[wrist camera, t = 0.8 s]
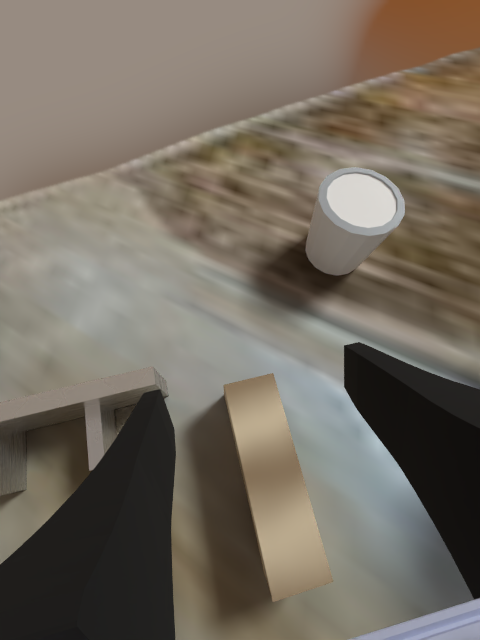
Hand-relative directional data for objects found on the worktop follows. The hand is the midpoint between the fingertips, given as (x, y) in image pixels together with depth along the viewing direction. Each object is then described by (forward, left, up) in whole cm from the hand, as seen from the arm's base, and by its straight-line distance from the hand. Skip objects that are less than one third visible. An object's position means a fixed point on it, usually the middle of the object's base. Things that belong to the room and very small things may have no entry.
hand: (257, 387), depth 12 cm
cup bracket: (+3, +13, -13) cm, 19 cm away
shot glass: (+13, -13, -14) cm, 23 cm away
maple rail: (-4, -1, -14) cm, 14 cm away
